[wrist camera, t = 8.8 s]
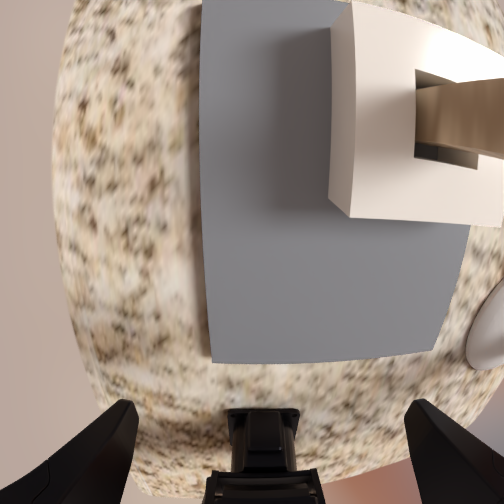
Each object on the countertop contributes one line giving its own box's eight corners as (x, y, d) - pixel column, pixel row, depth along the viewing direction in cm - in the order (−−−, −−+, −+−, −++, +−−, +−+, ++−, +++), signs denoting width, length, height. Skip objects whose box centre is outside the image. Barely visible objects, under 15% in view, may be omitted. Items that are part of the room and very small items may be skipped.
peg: (427, 145, 15) (582, 184, 4) (390, 137, 15) (552, 166, 4) (429, 104, 14) (584, 107, 3) (392, 94, 14) (551, 76, 3)
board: (427, 343, 21) (432, 350, 20) (213, 354, 21) (212, 362, 21) (468, 47, 12) (476, 45, 11) (205, 2, 12) (202, -5, 11)
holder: (463, 208, 16) (500, 227, 12) (327, 198, 16) (349, 217, 12) (469, 66, 12) (508, 60, 8) (330, 27, 12) (351, 0, 8)
